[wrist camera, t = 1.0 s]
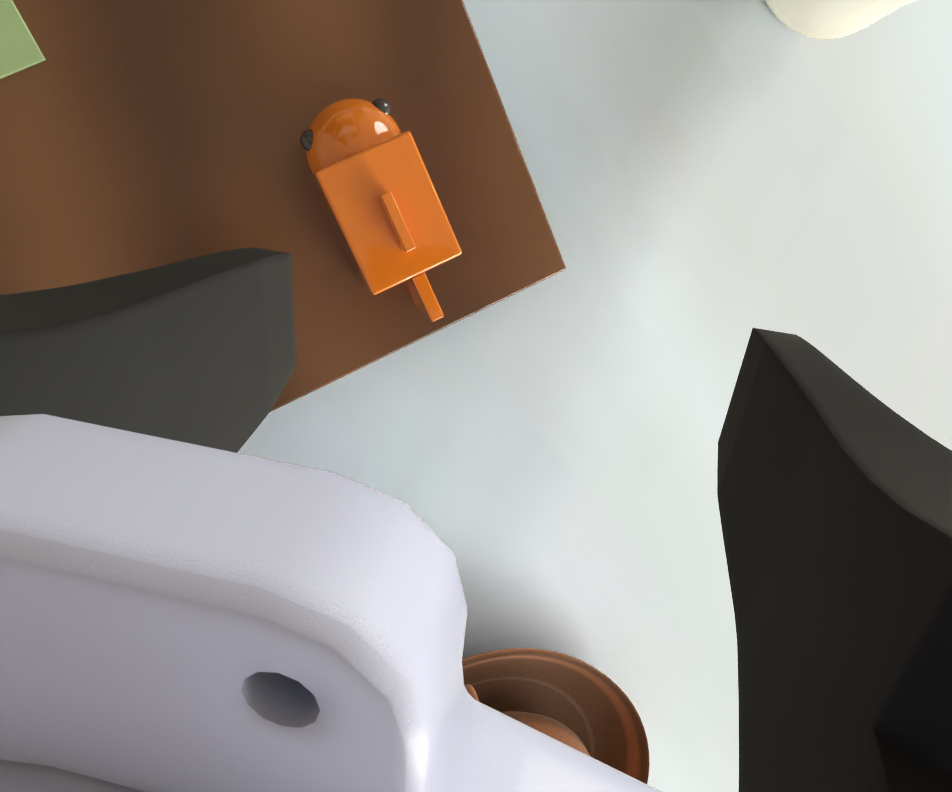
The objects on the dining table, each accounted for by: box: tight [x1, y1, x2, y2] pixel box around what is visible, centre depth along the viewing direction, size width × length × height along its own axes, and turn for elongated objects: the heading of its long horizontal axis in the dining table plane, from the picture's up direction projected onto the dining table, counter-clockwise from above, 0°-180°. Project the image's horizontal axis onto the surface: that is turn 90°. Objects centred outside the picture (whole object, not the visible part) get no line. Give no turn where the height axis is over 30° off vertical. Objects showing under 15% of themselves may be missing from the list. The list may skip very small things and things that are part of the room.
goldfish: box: [300, 98, 462, 322], centre depth 22 cm, size 6×3×4 cm, turn 24°
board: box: [0, 0, 566, 412], centre depth 22 cm, size 20×20×1 cm
